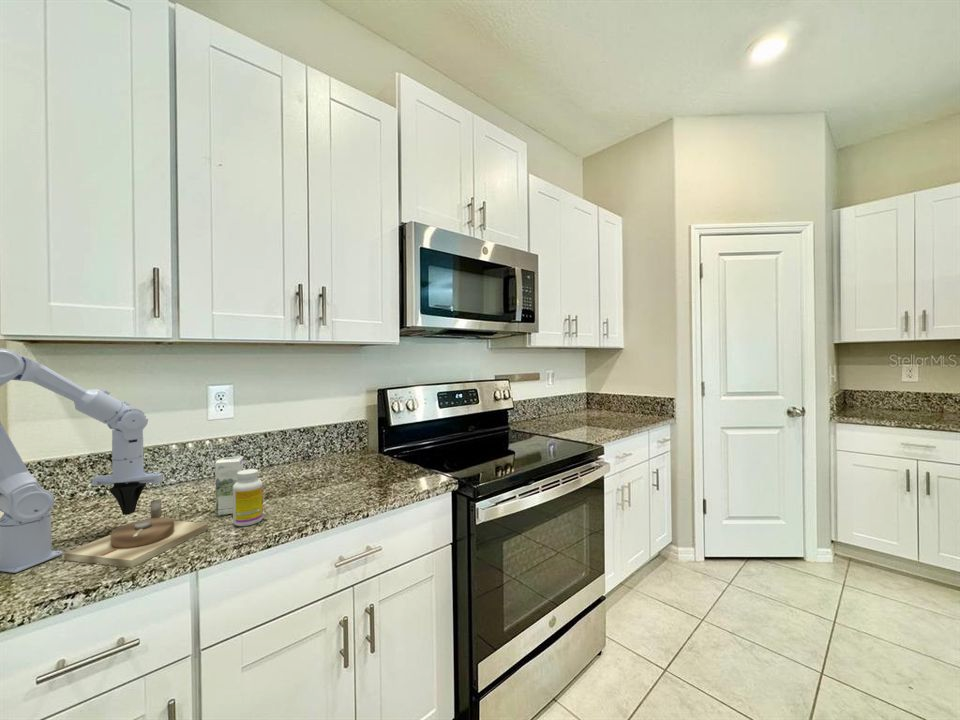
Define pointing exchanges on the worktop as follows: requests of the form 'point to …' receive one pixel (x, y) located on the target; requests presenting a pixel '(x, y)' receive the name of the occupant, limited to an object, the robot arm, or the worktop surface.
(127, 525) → the crank dial
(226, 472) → the syrup box
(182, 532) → the wooden cutting board
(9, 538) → the robot arm
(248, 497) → the supplement bottle
